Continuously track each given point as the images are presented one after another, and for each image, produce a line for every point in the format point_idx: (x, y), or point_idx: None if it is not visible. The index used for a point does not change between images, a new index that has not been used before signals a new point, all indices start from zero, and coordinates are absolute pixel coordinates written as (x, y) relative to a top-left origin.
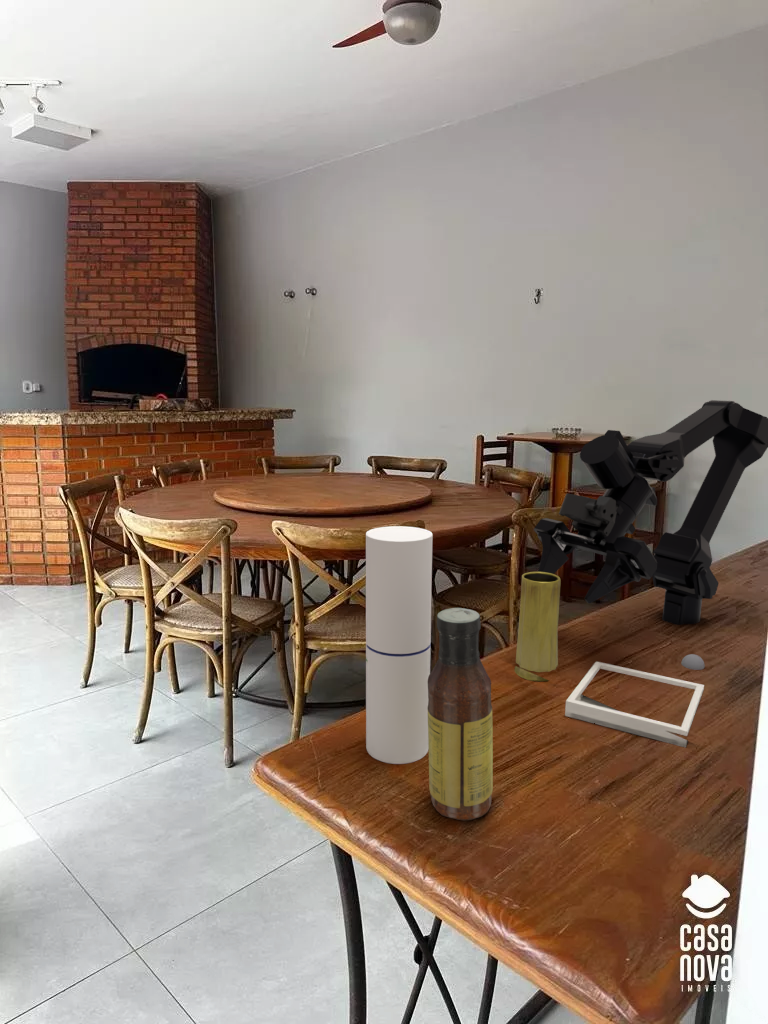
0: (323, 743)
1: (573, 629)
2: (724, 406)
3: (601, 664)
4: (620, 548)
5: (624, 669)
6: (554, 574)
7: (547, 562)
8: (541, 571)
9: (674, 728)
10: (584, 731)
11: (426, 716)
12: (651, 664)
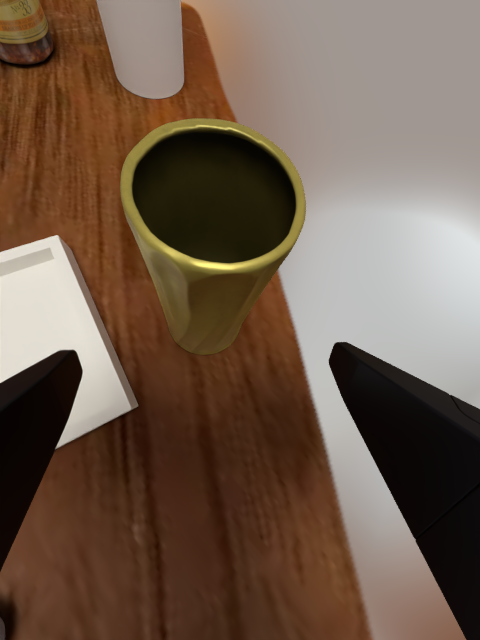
0: (198, 41)
1: (330, 552)
2: None
3: (113, 406)
4: None
5: (63, 432)
6: (214, 266)
7: (417, 412)
8: (372, 365)
9: None
10: (19, 237)
11: (102, 17)
12: (95, 574)
